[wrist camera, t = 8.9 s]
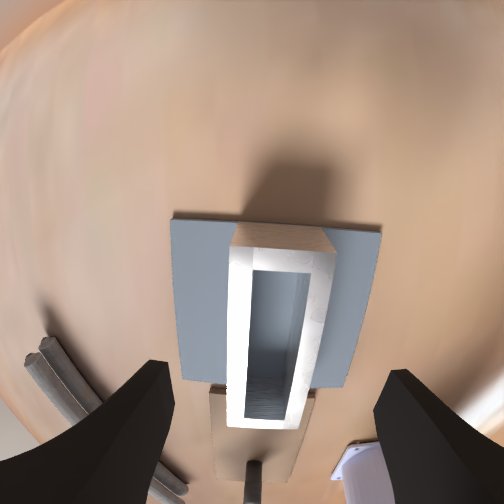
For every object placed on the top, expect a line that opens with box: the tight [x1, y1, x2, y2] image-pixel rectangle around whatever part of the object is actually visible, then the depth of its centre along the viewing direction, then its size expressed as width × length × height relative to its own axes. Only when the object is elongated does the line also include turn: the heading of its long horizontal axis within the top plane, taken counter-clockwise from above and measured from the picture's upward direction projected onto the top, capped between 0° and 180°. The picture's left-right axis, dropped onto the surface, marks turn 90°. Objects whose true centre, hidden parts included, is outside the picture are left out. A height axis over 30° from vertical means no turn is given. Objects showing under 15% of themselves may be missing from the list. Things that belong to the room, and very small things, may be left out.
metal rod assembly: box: [24, 337, 189, 504], centre depth 22 cm, size 26×3×5 cm, turn 19°
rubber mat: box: [170, 218, 382, 388], centre depth 18 cm, size 12×12×1 cm
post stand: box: [209, 388, 315, 504], centre depth 21 cm, size 8×16×6 cm, turn 177°
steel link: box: [227, 222, 337, 429], centre depth 16 cm, size 4×12×4 cm, turn 177°
